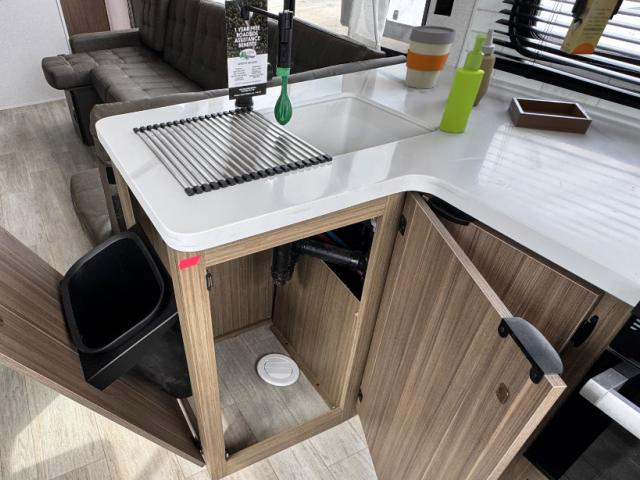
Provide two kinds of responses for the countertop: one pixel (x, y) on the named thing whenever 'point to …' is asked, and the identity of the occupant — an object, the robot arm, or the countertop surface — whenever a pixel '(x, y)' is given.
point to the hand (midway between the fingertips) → (591, 17)
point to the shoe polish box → (588, 27)
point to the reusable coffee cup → (427, 54)
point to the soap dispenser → (464, 90)
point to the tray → (549, 115)
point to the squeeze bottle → (486, 65)
